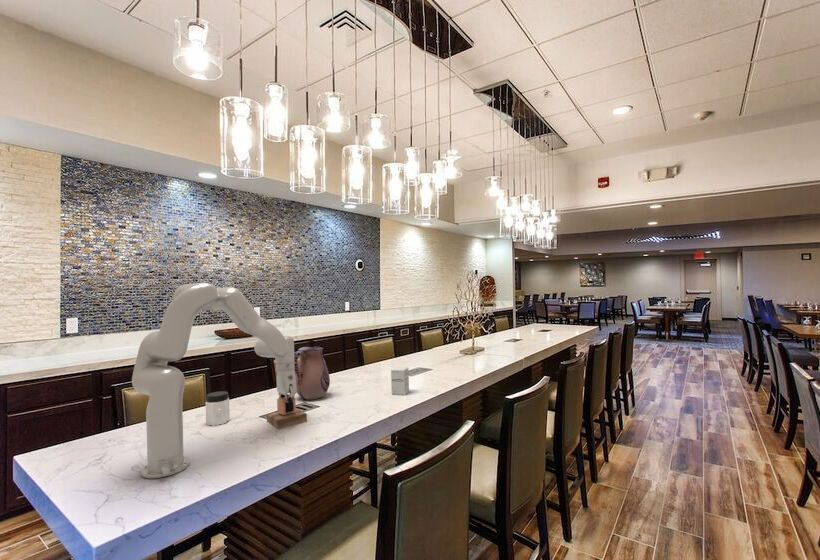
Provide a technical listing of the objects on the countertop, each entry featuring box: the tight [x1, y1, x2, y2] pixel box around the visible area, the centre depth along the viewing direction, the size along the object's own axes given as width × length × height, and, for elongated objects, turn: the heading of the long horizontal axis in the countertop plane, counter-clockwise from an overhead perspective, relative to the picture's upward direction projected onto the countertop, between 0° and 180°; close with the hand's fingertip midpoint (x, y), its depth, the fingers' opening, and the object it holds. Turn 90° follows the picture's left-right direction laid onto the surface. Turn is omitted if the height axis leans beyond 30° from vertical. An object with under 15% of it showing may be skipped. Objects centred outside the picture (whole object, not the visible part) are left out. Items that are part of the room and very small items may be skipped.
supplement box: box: [390, 366, 410, 396], centre depth 197 cm, size 7×7×13 cm
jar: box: [205, 390, 231, 427], centre depth 163 cm, size 9×8×12 cm
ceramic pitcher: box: [294, 346, 331, 401], centre depth 194 cm, size 18×21×25 cm
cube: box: [276, 396, 297, 415], centre depth 160 cm, size 6×6×6 cm
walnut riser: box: [266, 408, 308, 429], centre depth 160 cm, size 12×12×3 cm
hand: (286, 409), depth 160 cm, fingers closed on cube, 5 cm apart
